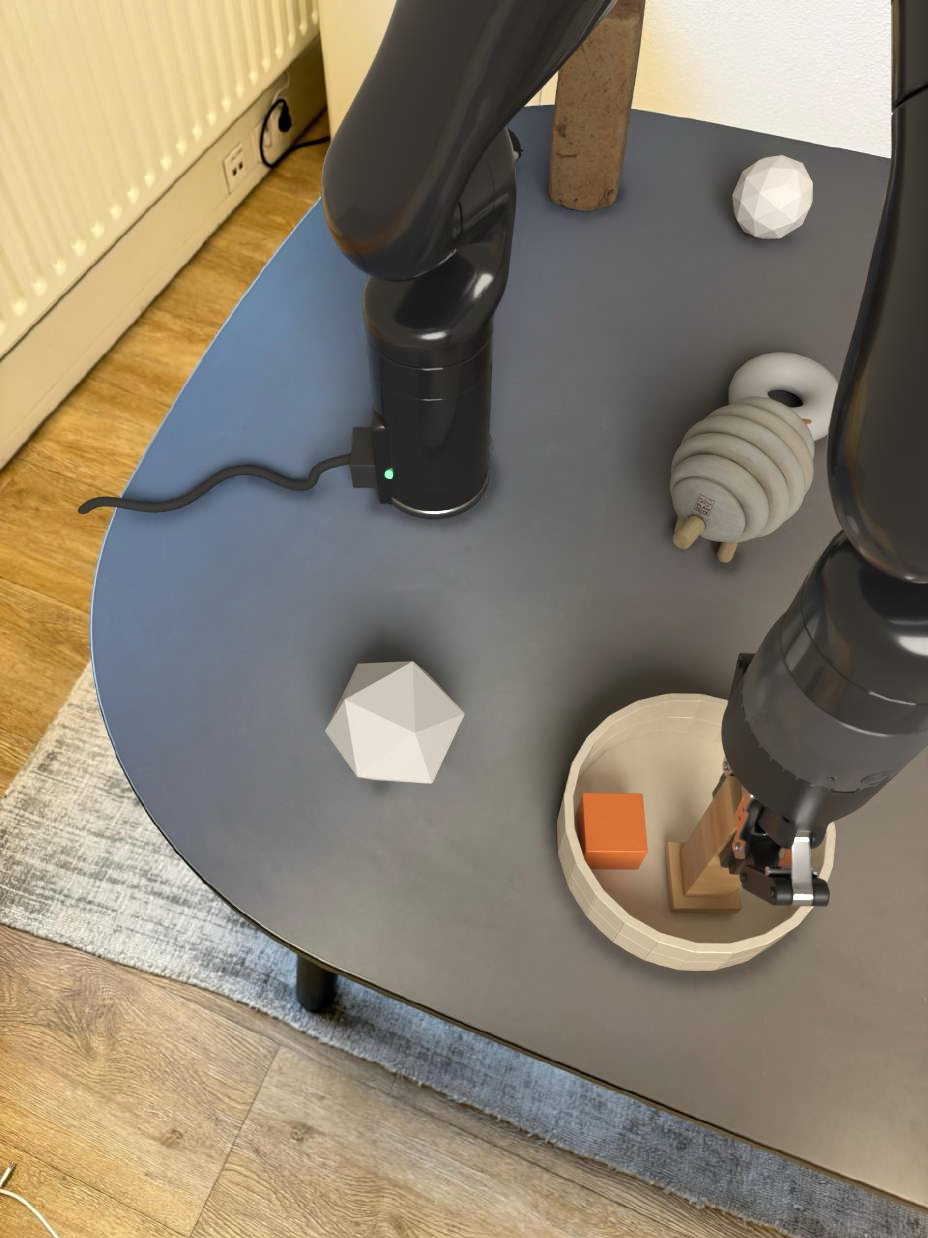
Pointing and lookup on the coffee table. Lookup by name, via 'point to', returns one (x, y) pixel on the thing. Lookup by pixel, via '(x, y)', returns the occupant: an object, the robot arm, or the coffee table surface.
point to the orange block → (612, 830)
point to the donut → (790, 385)
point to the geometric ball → (772, 197)
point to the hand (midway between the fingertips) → (733, 831)
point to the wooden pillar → (706, 859)
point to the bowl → (665, 836)
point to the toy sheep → (740, 473)
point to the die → (394, 723)
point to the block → (595, 111)
